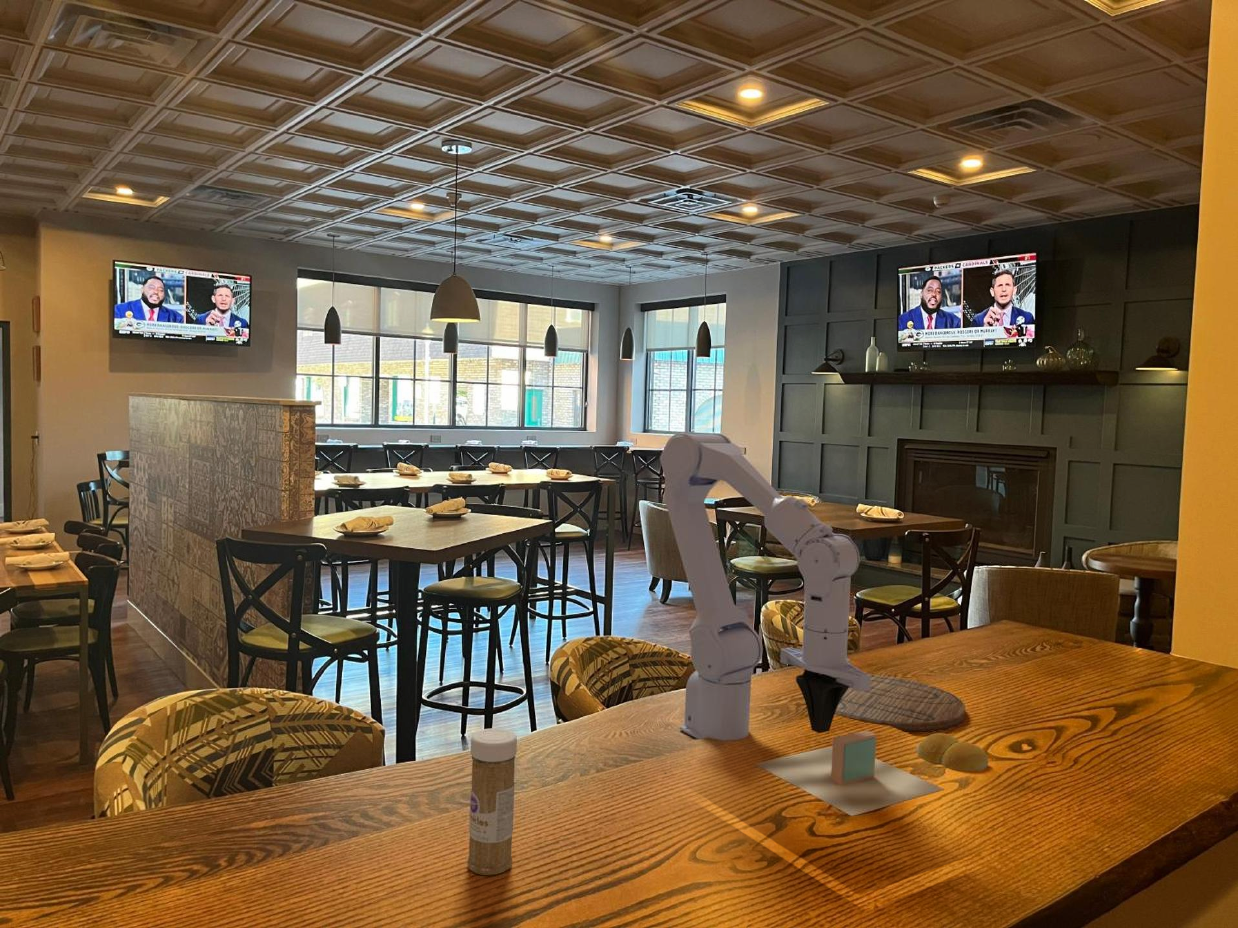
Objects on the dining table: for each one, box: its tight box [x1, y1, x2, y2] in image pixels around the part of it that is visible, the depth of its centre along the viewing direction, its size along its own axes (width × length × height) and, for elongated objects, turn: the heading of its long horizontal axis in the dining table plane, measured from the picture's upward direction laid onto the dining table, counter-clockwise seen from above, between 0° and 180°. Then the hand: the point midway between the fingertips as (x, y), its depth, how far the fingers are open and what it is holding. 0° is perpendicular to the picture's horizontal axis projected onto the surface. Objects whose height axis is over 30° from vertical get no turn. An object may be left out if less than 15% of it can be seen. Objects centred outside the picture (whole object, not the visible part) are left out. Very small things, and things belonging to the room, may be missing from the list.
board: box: [754, 745, 945, 817], centre depth 114 cm, size 17×16×1 cm
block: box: [831, 730, 877, 786], centre depth 113 cm, size 2×6×6 cm, turn 122°
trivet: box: [835, 674, 966, 734], centre depth 146 cm, size 25×25×2 cm
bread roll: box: [915, 732, 989, 772], centre depth 122 cm, size 8×9×4 cm
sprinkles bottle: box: [467, 727, 518, 876], centre depth 90 cm, size 5×5×13 cm
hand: (820, 730), depth 118 cm, fingers closed
